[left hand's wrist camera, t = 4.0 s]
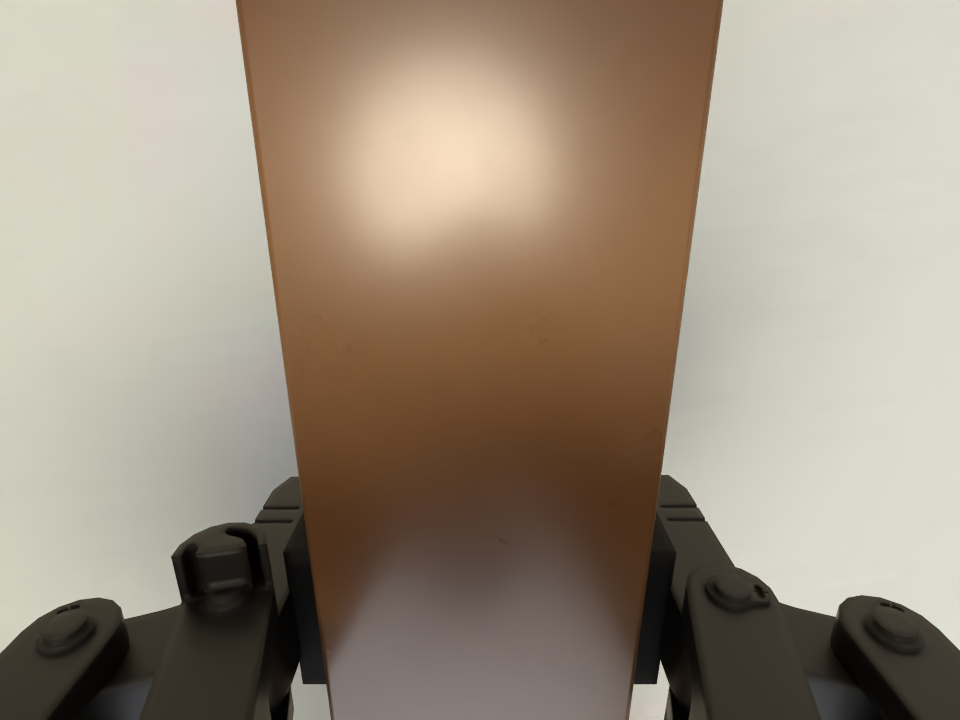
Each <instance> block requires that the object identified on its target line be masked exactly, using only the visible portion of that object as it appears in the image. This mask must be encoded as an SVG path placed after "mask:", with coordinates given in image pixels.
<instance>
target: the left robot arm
mask: <svg viewBox="0 0 960 720" xmlns="http://www.w3.org/2000/svg"><path fill="white" fill-rule="evenodd" d="M171 558H172V562H173V566H174V570H175V575H176V579H177V583H178V587H179V591H180V595H181V600H182V602H181V605H179V606H175V607H172V608H169V609H166V610H162V611H158V612H153V613H149V614H145V615H141V616H137V617H132V618H128V619H124V617H123V614H122V610H121V607H119V606H118V605H117V604H116V603H115V602H114V601H113V600H108V599H103V598H92V599H84V600H78V601H75V602H72V603H69V604H66V605H63V606H61V607H58V608H56V609H54V610H53V611H51V612H49V613H47V614H45V615H43V616H42V617H40V618H38V619H37V620H36V621H34V622H33V623H32V624H31V625H30V626H28V627H27V628H26V629H25V630H23V631H22V632H21V633H20V634H19V635H18V636H17V637H16V638H15V639H14V640H13V641H12V642H11V643H10V644H9V645H8V646H7V647H6V648H5V649H4V650H3V651H2V652H1V653H0V720H293V712H294V706H293V699H292V692H291V684H292V681H293V678H294V675H295V672H296V670H297V667H298V664H299V661H300V667H301V674H302V680H303V684H326V677H325V669H324V662H323V654H322V647H321V639H320V632H319V624H318V617H317V609H316V601H315V594H314V586H313V579H312V571H311V564H310V556H309V549H308V541H307V534H306V526H305V519H304V511H303V504H302V496H301V489H300V481H299V477H290V478H289V479H288V480H286V481H285V482H284V483H283V484H281V485H280V486H279V487H277V488H276V489H275V490H273V492H272V493H271V495H270V497H269V498H268V500H267V501H266V503H265V505H264V506H263V510H261V511H260V513H259V514H258V516H257V518H256V519H255V523H253V524H248V523H226V524H222V525H217V526H213V527H210V528H208V529H205V530H203V531H201V532H199V533H196V534H194V535H193V536H191V537H190V538H189V539H187V540H186V541H185V542H183V543H182V544H181V545H179V547H178V548H177V550H176V551H175V552H174V554H173V555H172V556H171ZM660 660H661V662H662V665H663V668H664V671H665V674H666V676H667V679H668V682H669V685H670V686H669V692H668V698H667V704H666V710H665V716H664V720H960V650H959V649H958V648H957V647H956V646H955V645H954V644H953V643H952V642H951V641H950V640H949V639H948V638H947V637H946V636H945V635H944V634H943V633H942V632H941V631H940V630H939V629H938V628H936V627H935V626H934V625H933V624H931V623H930V622H929V621H928V620H926V619H925V618H924V617H923V616H921V615H919V614H918V613H916V612H914V611H912V610H910V609H908V608H907V607H905V606H903V605H901V604H898V603H895V602H892V601H889V600H886V599H883V598H880V597H871V596H863V595H861V596H855V597H850V598H847V599H846V600H845V601H844V602H843V603H841V604H840V605H839V608H838V612H837V615H836V617H833V616H829V615H824V614H820V613H816V612H812V611H807V610H803V609H799V608H795V607H792V606H789V605H785V604H782V603H780V602H779V601H778V600H777V598H776V596H775V595H774V593H773V592H772V590H771V588H770V587H768V586H767V585H766V584H765V583H764V582H762V581H761V580H760V579H759V578H758V577H756V576H754V575H752V574H750V573H748V572H746V571H744V570H742V569H740V568H736V567H735V566H734V564H733V563H732V561H731V560H730V558H729V556H728V555H727V553H726V552H725V550H724V548H723V547H722V545H721V543H720V542H719V540H718V539H717V537H716V535H715V534H714V532H713V531H712V529H711V527H710V526H709V524H708V522H707V521H705V518H704V516H703V514H702V513H701V511H700V510H699V508H697V505H696V503H695V501H694V500H693V498H692V497H691V495H690V493H689V492H688V490H687V489H686V488H685V487H684V486H682V485H681V484H680V483H678V482H677V481H676V480H674V479H673V478H672V477H670V476H669V475H661V478H660V486H659V494H658V501H657V509H656V516H655V524H654V532H653V539H652V547H651V554H650V562H649V570H648V577H647V585H646V592H645V600H644V608H643V615H642V623H641V630H640V638H639V646H638V653H637V661H636V668H635V676H634V684H657V678H658V671H659V665H660Z"/></svg>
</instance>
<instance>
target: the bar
mask: <svg viewBox="0 0 960 720" xmlns="http://www.w3.org/2000/svg"><path fill="white" fill-rule="evenodd" d="M236 7H237V14H238V22H239V29H240V37H241V45H242V52H243V60H244V67H245V75H246V82H247V90H248V97H249V105H250V112H251V120H252V127H253V135H254V142H255V150H256V157H257V165H258V172H259V180H260V188H261V195H262V203H263V210H264V218H265V225H266V233H267V240H268V248H269V255H270V263H271V270H272V278H273V285H274V293H275V300H276V308H277V315H278V323H279V331H280V338H281V346H282V353H283V361H284V368H285V376H286V383H287V391H288V398H289V406H290V413H291V421H292V428H293V436H294V443H295V451H296V458H297V466H298V474H299V481H300V489H301V496H302V504H303V511H304V519H305V526H306V534H307V541H308V549H309V556H310V564H311V571H312V579H313V586H314V594H315V601H316V609H317V617H318V624H319V632H320V639H321V647H322V654H323V662H324V669H325V677H326V684H327V692H328V699H329V707H330V714H331V720H629V714H630V706H631V699H632V691H633V684H634V676H635V668H636V661H637V653H638V646H639V638H640V630H641V623H642V615H643V608H644V600H645V592H646V585H647V577H648V570H649V562H650V554H651V547H652V539H653V532H654V524H655V516H656V509H657V501H658V494H659V486H660V478H661V471H662V463H663V456H664V448H665V440H666V433H667V425H668V418H669V410H670V402H671V395H672V387H673V380H674V372H675V364H676V357H677V349H678V342H679V334H680V326H681V319H682V311H683V304H684V296H685V288H686V281H687V273H688V266H689V258H690V250H691V243H692V235H693V228H694V220H695V212H696V205H697V197H698V190H699V182H700V174H701V167H702V159H703V152H704V144H705V136H706V129H707V121H708V114H709V106H710V98H711V91H712V83H713V76H714V68H715V61H716V53H717V45H718V38H719V30H720V23H721V15H722V7H723V0H236Z"/></svg>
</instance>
